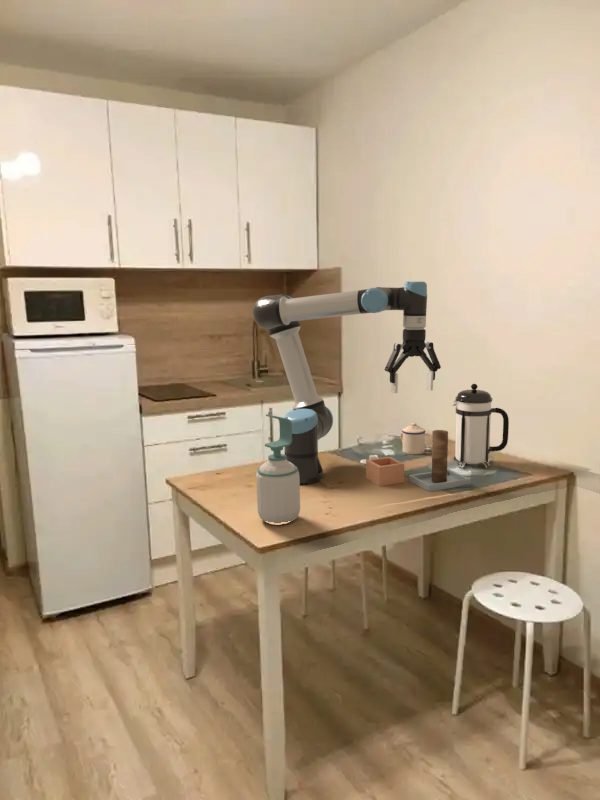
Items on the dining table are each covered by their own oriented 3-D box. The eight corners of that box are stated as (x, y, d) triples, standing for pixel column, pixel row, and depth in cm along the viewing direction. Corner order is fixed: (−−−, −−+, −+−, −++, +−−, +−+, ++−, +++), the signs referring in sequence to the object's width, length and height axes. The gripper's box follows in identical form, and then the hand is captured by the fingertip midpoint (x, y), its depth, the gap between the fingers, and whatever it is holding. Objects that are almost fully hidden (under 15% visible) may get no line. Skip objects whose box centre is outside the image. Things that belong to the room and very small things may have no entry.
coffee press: (477, 473, 214) (480, 389, 208) (442, 463, 226) (444, 383, 221) (508, 464, 224) (511, 383, 218) (472, 454, 236) (475, 378, 231)
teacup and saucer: (357, 465, 228) (357, 454, 227) (374, 461, 232) (374, 451, 231) (370, 471, 220) (370, 460, 220) (388, 467, 224) (388, 456, 223)
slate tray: (428, 493, 195) (428, 485, 194) (408, 482, 206) (408, 475, 206) (470, 486, 201) (470, 479, 200) (448, 475, 212) (449, 469, 211)
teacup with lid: (430, 452, 241) (430, 423, 239) (412, 456, 236) (413, 427, 234) (409, 445, 251) (409, 418, 249) (392, 449, 246) (392, 421, 244)
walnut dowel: (437, 484, 200) (438, 434, 197) (428, 480, 204) (429, 431, 201) (449, 482, 202) (451, 432, 198) (441, 478, 206) (442, 429, 203)
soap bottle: (249, 519, 177) (244, 414, 171) (282, 508, 185) (279, 407, 179) (275, 532, 168) (271, 421, 162) (309, 520, 175) (307, 414, 169)
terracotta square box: (379, 487, 201) (379, 467, 200) (365, 479, 210) (365, 459, 208) (403, 483, 205) (404, 463, 203) (390, 475, 213) (390, 456, 212)
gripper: (386, 330, 196) (384, 395, 200) (452, 328, 204) (449, 390, 208) (375, 328, 203) (374, 391, 207) (440, 326, 211) (437, 387, 215)
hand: (412, 391), depth 207 cm, fingers open, 13 cm apart
